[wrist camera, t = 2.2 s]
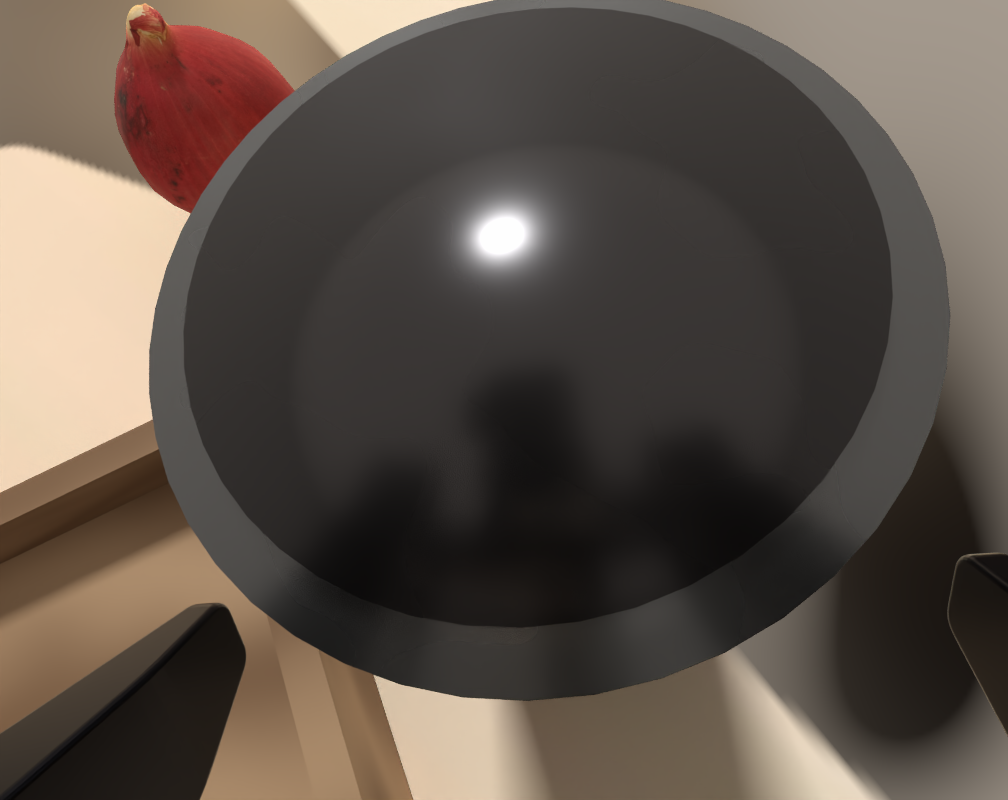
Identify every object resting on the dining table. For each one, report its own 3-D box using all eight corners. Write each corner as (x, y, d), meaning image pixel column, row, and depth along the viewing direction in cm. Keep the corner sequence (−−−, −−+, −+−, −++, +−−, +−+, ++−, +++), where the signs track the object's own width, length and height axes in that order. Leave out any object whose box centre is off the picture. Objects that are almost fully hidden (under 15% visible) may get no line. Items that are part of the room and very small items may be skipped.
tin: (731, 590, 16) (1209, 416, 3) (532, 688, 16) (237, 896, 3) (624, 406, 19) (662, -113, 6) (449, 491, 19) (85, 158, 6)
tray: (438, 881, 15) (401, 936, 12) (-76, 1137, 15) (-232, 1252, 12) (289, 412, 21) (239, 377, 18) (-89, 594, 20) (-199, 588, 18)
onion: (242, 291, 23) (67, 127, 15) (184, 200, 25) (8, 17, 18) (369, 206, 23) (259, 6, 16) (302, 123, 25) (178, -86, 18)
